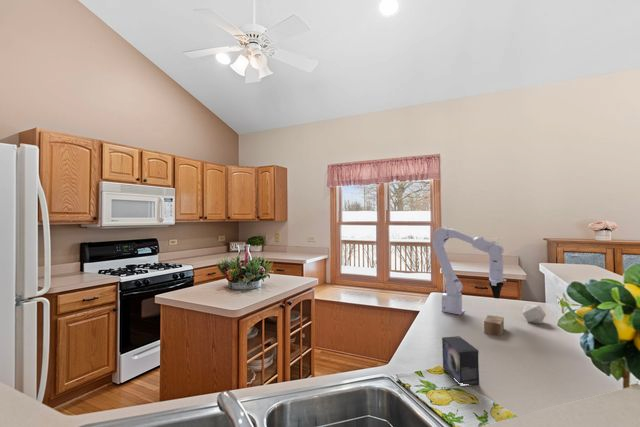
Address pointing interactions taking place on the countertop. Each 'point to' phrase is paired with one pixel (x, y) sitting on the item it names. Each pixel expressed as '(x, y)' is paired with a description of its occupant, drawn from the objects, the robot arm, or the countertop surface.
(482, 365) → the countertop surface
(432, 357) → the countertop surface
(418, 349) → the countertop surface
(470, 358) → the small box
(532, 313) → the die
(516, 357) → the countertop surface
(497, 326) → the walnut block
